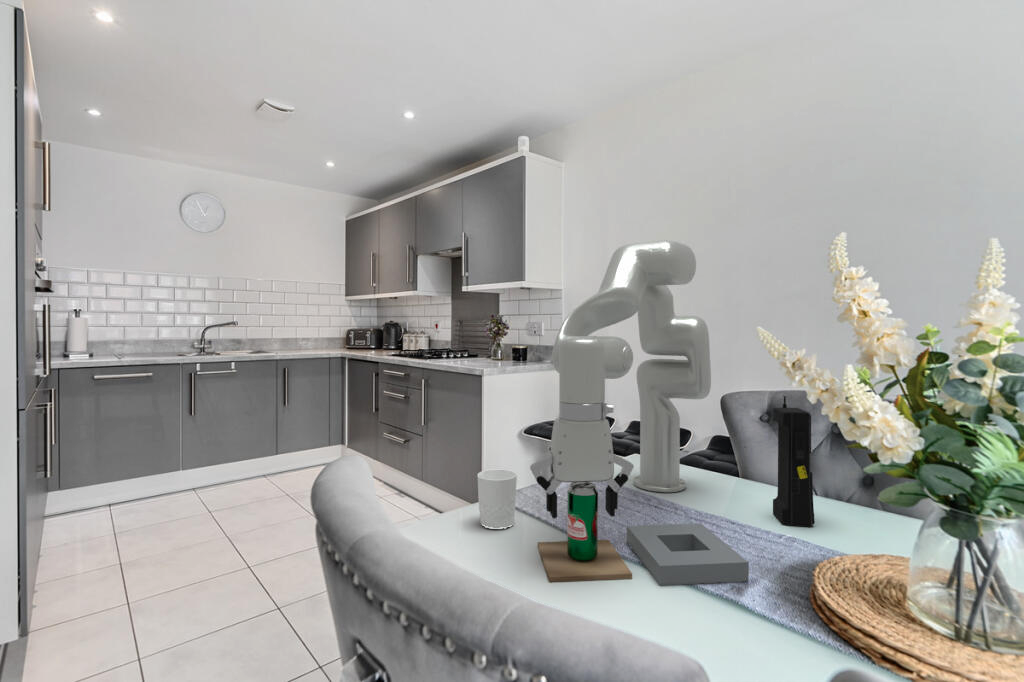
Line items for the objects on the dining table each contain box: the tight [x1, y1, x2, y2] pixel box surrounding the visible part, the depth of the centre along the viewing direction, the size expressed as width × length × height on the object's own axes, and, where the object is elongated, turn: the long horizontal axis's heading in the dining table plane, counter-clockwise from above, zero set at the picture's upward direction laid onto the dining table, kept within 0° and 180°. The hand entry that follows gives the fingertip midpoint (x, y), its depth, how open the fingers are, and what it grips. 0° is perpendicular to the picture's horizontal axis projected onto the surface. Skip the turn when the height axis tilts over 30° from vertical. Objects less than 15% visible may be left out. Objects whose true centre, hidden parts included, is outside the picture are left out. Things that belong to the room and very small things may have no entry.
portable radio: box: [772, 395, 816, 528], centre depth 103 cm, size 8×6×25 cm
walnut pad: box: [537, 539, 633, 583], centre depth 85 cm, size 13×13×1 cm
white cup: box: [477, 468, 518, 528], centre depth 102 cm, size 8×8×10 cm
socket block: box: [626, 522, 750, 586], centre depth 85 cm, size 16×14×3 cm
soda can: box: [566, 482, 599, 562], centre depth 85 cm, size 5×5×12 cm
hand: (581, 514), depth 85 cm, fingers open, 9 cm apart
